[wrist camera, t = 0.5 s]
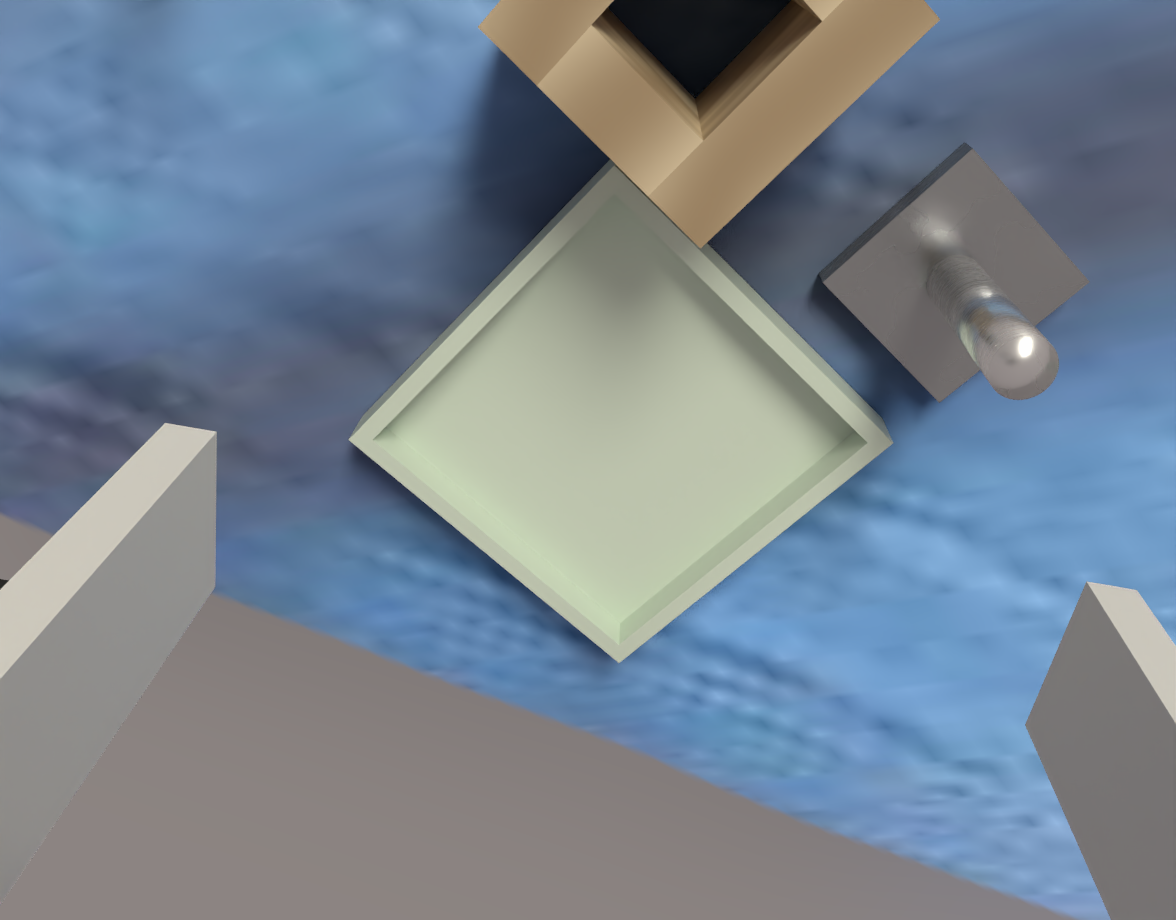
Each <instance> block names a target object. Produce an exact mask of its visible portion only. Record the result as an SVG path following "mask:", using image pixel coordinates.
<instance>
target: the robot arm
mask: <svg viewBox="0 0 1176 920" xmlns="http://www.w3.org/2000/svg"><path fill="white" fill-rule="evenodd" d="M216 451H217V432H214V431H208V430H203V429H197V428H191V427H185V426H179V425H173V424H168V423H165V424H164V425H163V426H162V427H161V428H160V429H159V430H158V431H157V432H156V433H155V434H154V435H153V436H152V437H151V438H150V439H149V440H148V441H147V442H146V443H145V444H144V445H143V446H142V447H141V448H140V449H139V450H138V451H137V452H136V453H135V454H134V455H133V456H132V457H131V458H130V459H129V460H128V461H127V462H126V463H125V464H124V465H123V466H122V467H121V468H120V469H119V470H118V471H117V472H116V473H115V474H114V475H113V476H112V477H111V478H110V479H109V480H108V482H107V483H106V484H105V485H104V486H103V487H102V488H101V489H100V490H99V491H98V492H97V493H96V494H95V495H94V496H93V497H92V498H91V499H90V500H89V501H88V502H87V503H86V504H85V505H84V506H83V507H82V508H81V509H80V510H79V511H78V512H77V513H76V514H75V515H74V516H73V517H72V518H71V519H70V520H69V521H68V522H67V523H66V524H65V525H64V526H63V527H62V528H61V529H60V530H59V531H58V532H57V533H56V534H55V535H54V536H53V537H52V538H51V539H50V540H49V541H48V542H47V543H46V544H45V545H44V546H43V547H42V548H41V549H40V550H39V551H38V552H37V553H36V554H35V555H34V556H33V557H32V558H31V559H30V560H29V561H28V562H27V563H26V564H25V565H24V566H23V567H22V569H20V570H19V571H18V572H17V573H16V574H15V575H14V576H13V577H12V578H11V579H10V580H9V581H8V580H1V579H0V904H1V903H2V902H3V900H4V899H5V897H6V896H7V894H8V893H9V891H10V890H11V888H12V887H13V885H14V884H15V882H16V881H17V879H18V878H19V876H20V875H21V873H22V872H23V870H24V869H25V867H26V866H27V865H28V863H29V862H30V860H31V859H32V857H33V856H34V854H35V853H36V851H37V850H38V848H39V847H40V845H41V844H42V842H43V841H44V839H45V838H46V836H47V835H48V834H49V832H50V831H51V829H52V828H53V826H54V825H55V823H56V822H57V820H58V819H59V817H60V816H61V814H62V813H63V811H64V810H65V808H66V807H67V805H68V804H69V802H70V801H71V799H72V798H73V796H74V795H75V793H76V792H77V791H78V789H79V788H80V786H81V785H82V783H83V782H84V780H85V779H86V777H87V776H88V774H89V773H90V771H91V770H92V768H93V767H94V765H95V764H96V762H97V761H98V760H99V758H100V757H101V755H102V754H103V752H104V751H105V749H106V748H107V746H108V745H109V743H110V742H111V740H112V739H113V737H114V736H115V734H116V733H117V731H118V730H119V728H120V727H121V725H122V724H123V723H124V721H125V720H126V718H127V717H128V715H129V714H130V712H131V711H132V709H133V708H134V706H135V705H136V703H137V702H138V700H139V699H140V697H141V696H142V694H143V693H144V691H145V690H146V688H147V687H148V686H149V684H150V683H151V681H152V680H153V678H154V677H155V675H156V674H157V672H158V671H159V669H160V668H161V666H162V665H163V663H164V662H165V660H166V659H167V657H168V656H169V654H170V653H171V651H172V650H173V649H174V647H175V645H176V644H177V643H178V641H179V640H180V638H181V637H182V635H183V634H184V632H185V631H186V629H187V628H188V626H189V625H190V623H191V622H192V620H193V619H194V617H195V616H196V615H197V613H198V612H199V610H200V608H201V607H202V606H203V604H204V603H205V601H206V600H207V598H208V597H209V595H210V594H211V592H212V591H213V589H214V588H215V549H216ZM1025 726H1026V728H1027V730H1028V732H1029V735H1030V737H1031V739H1032V741H1033V744H1034V746H1035V748H1036V751H1037V753H1038V755H1039V757H1040V760H1041V762H1042V764H1043V766H1044V769H1045V771H1046V773H1047V775H1048V778H1049V780H1050V782H1051V785H1052V787H1053V789H1054V791H1055V794H1056V796H1057V798H1058V800H1059V803H1060V805H1061V807H1062V809H1063V812H1064V814H1065V816H1066V819H1067V821H1068V823H1069V825H1070V828H1071V830H1072V832H1073V834H1074V837H1075V839H1076V841H1077V843H1078V846H1079V848H1080V850H1081V853H1082V855H1083V857H1084V859H1085V862H1086V864H1087V866H1088V868H1089V871H1090V873H1091V875H1092V877H1093V880H1094V882H1095V884H1096V887H1097V889H1098V891H1099V893H1100V896H1101V898H1102V900H1103V902H1104V905H1105V907H1106V909H1107V911H1108V914H1109V916H1110V918H1111V920H1176V646H1175V644H1174V643H1173V642H1172V640H1171V639H1170V637H1169V636H1168V634H1167V633H1166V632H1165V630H1164V629H1163V627H1162V626H1161V624H1160V623H1159V621H1158V620H1157V619H1156V617H1155V616H1154V614H1153V613H1152V611H1151V610H1150V608H1149V607H1148V606H1147V604H1146V603H1145V601H1144V600H1143V598H1142V597H1141V596H1140V594H1139V593H1138V591H1137V590H1133V589H1127V588H1121V587H1115V586H1109V585H1103V584H1098V583H1092V582H1086V584H1085V586H1084V589H1083V591H1082V593H1081V596H1080V598H1079V600H1078V603H1077V605H1076V607H1075V610H1074V612H1073V614H1072V617H1071V619H1070V621H1069V624H1068V626H1067V628H1066V631H1065V633H1064V636H1063V638H1062V640H1061V643H1060V645H1059V647H1058V650H1057V652H1056V654H1055V657H1054V659H1053V661H1052V664H1051V666H1050V668H1049V671H1048V673H1047V675H1046V678H1045V680H1044V682H1043V685H1042V687H1041V689H1040V692H1039V694H1038V696H1037V699H1036V701H1035V703H1034V706H1033V708H1032V710H1031V713H1030V715H1029V717H1028V720H1027V722H1026V724H1025Z"/></svg>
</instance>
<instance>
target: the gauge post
mask: <svg viewBox="0 0 1176 920" xmlns="http://www.w3.org/2000/svg"><path fill="white" fill-rule="evenodd" d="M819 275H820V278H821V280H822V282H823V283H824V284H825V285H826V287H827V288H828V289H829V290H830V291H831V292H832V293H833V294H834V295H835V296H836V297H837V298H838V299H839V300H840V301H841V302H842V303H843V304H844V305H845V306H846V307H847V308H848V309H849V310H850V311H851V312H852V313H853V314H854V315H855V316H856V317H857V318H858V319H859V320H860V322H861V323H862V324H863V325H864V326H865V327H866V328H867V329H868V330H869V331H870V332H871V333H872V334H873V335H874V336H875V337H876V338H877V339H878V340H879V341H880V342H881V343H882V344H883V345H884V346H885V347H886V348H887V349H888V350H889V351H890V352H891V353H892V354H893V355H894V356H895V358H896V359H897V360H898V361H899V362H900V363H901V364H902V365H903V366H904V367H905V368H906V369H907V370H908V371H909V372H910V373H911V374H912V375H913V376H914V377H915V378H916V379H917V380H918V381H919V382H920V383H921V384H922V385H923V386H924V387H925V388H926V389H927V390H928V391H929V393H930V394H931V395H932V396H933V397H934V398H935V399H936V400H937V401H938V402H939V403H940V402H941V401H942V400H943V399H945V398H946V397H947V396H948V395H950V394H951V393H952V392H953V391H955V390H956V389H957V388H958V387H959V386H961V385H962V384H963V383H964V382H966V381H967V380H968V379H969V378H971V377H972V376H973V375H974V374H976V373H977V372H978V371H979V370H981V371H982V373H983V374H984V376H985V377H986V379H987V380H988V381H989V383H990V384H991V386H992V387H993V388H994V390H995V391H996V392H997V393H999V394H1000V395H1001V396H1003V397H1006V398H1009V399H1013V400H1023V399H1028V398H1032V397H1034V396H1037V395H1038V394H1040V393H1042V392H1043V391H1045V390H1046V389H1047V388H1048V387H1049V386H1050V385H1051V384H1052V382H1053V381H1054V379H1055V377H1056V375H1057V372H1058V368H1059V359H1058V355H1057V352H1056V350H1055V349H1054V347H1053V346H1052V345H1051V344H1050V343H1049V342H1048V340H1047V339H1046V338H1045V337H1044V336H1043V335H1042V334H1041V333H1040V332H1039V330H1038V329H1037V328H1036V327H1035V325H1037V324H1038V323H1039V322H1040V321H1042V320H1043V319H1044V318H1045V317H1047V316H1048V315H1049V314H1050V313H1052V312H1053V311H1054V310H1055V309H1057V308H1058V307H1059V306H1060V305H1062V304H1063V303H1064V302H1065V301H1066V300H1068V299H1069V298H1070V297H1071V296H1073V295H1074V294H1075V293H1076V292H1078V291H1079V290H1080V289H1081V288H1083V287H1084V286H1085V285H1086V284H1088V283H1089V281H1088V280H1087V278H1086V277H1085V276H1084V275H1083V274H1082V273H1081V272H1080V270H1079V269H1078V268H1077V267H1076V266H1075V265H1074V264H1073V262H1072V261H1071V260H1070V259H1069V258H1068V257H1067V256H1066V254H1065V253H1064V252H1063V251H1062V250H1061V249H1060V248H1059V246H1058V245H1057V244H1056V243H1055V242H1054V241H1053V240H1052V238H1051V237H1050V236H1049V235H1048V234H1047V233H1046V232H1045V230H1044V229H1043V228H1042V227H1041V226H1040V225H1039V224H1038V222H1037V221H1036V220H1035V219H1034V218H1033V217H1032V216H1031V214H1030V213H1029V212H1028V211H1027V210H1026V209H1025V208H1024V206H1023V205H1022V204H1021V203H1020V202H1019V201H1018V200H1017V198H1016V197H1015V196H1014V195H1013V194H1012V193H1011V192H1010V190H1009V189H1008V188H1007V187H1006V186H1005V185H1004V184H1003V182H1002V181H1001V180H1000V179H999V178H998V177H997V176H996V174H995V173H994V172H993V171H992V170H991V169H990V168H989V166H988V165H987V164H986V163H985V162H984V161H983V160H982V158H981V157H980V156H979V155H978V154H977V153H976V152H975V150H974V149H973V148H971V147H970V146H969V145H968V144H966V143H963V144H962V145H961V146H960V147H959V148H958V149H957V150H956V151H955V152H953V153H952V154H951V155H950V156H949V157H948V158H947V159H946V160H945V161H943V162H942V163H941V164H940V165H939V166H938V167H937V168H936V169H935V170H933V171H932V172H931V173H930V174H929V175H928V176H927V177H926V178H924V179H923V180H922V181H921V182H920V183H919V184H918V185H917V186H916V187H914V188H913V189H912V190H911V191H910V192H909V193H908V194H907V195H906V196H904V197H903V198H902V199H901V200H900V201H899V202H898V203H897V204H896V205H894V206H893V207H892V208H891V209H890V210H889V211H888V212H887V213H886V214H884V215H883V216H882V217H881V218H880V219H879V220H878V221H877V222H876V223H874V224H873V225H872V226H871V227H870V228H869V229H868V230H867V231H866V232H864V233H863V234H862V235H861V236H860V237H859V238H858V239H857V240H855V241H854V242H853V243H852V244H851V245H850V246H849V247H848V248H847V249H845V250H844V251H843V252H842V253H841V254H840V255H839V256H838V257H837V258H835V259H834V260H833V261H832V262H831V263H830V264H829V265H828V266H827V267H825V268H824V269H823V270H822V271H821V272H820V273H819Z"/></svg>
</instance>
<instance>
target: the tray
mask: <svg viewBox="0 0 1176 920" xmlns="http://www.w3.org/2000/svg"><path fill="white" fill-rule="evenodd" d="M349 441H351V442H352V443H353V444H354V445H355V446H357V447H358V448H359V449H360V450H361V451H363V452H364V453H365V454H366V455H367V456H369V457H370V458H371V459H372V460H374V461H375V462H376V463H377V464H378V465H380V466H381V467H382V468H383V469H384V470H386V471H387V472H388V473H389V474H390V475H392V476H393V477H394V478H395V479H397V480H398V481H399V482H400V483H401V484H403V485H404V486H405V487H406V488H407V489H409V490H410V491H411V492H412V493H414V494H415V495H416V496H417V497H418V498H420V499H421V500H422V501H423V502H424V503H426V504H427V505H428V506H429V507H430V508H432V509H433V510H434V511H435V512H437V513H438V514H439V515H440V516H441V517H443V518H444V519H445V520H446V521H447V522H449V523H450V524H451V525H452V526H453V527H455V528H456V529H457V530H458V531H460V532H461V533H462V534H463V535H464V536H466V537H467V538H468V539H469V540H470V541H472V542H473V543H474V544H475V545H477V546H478V547H479V548H480V549H481V550H483V551H484V552H485V553H486V554H487V555H489V556H490V557H491V558H492V559H493V560H495V561H496V562H497V563H498V564H500V565H501V566H502V567H503V568H504V569H506V570H507V571H508V572H509V573H510V574H512V575H513V576H514V577H515V578H516V579H518V580H519V581H520V582H521V583H523V584H524V585H525V586H526V587H527V588H529V589H530V590H531V591H532V592H533V593H535V594H536V595H537V596H538V597H540V598H541V599H542V600H543V601H544V602H546V603H547V604H548V605H549V606H550V607H552V608H553V609H554V610H555V611H556V612H558V613H559V614H560V615H561V616H563V617H564V618H565V619H566V620H567V621H569V622H570V623H571V624H572V625H573V626H575V627H576V628H577V629H578V630H579V631H581V632H582V633H583V634H584V635H586V636H587V637H588V638H589V639H590V640H592V641H593V642H594V643H595V644H596V645H598V646H599V647H600V648H601V649H603V650H604V651H605V652H606V653H607V654H609V655H610V656H611V657H612V658H613V659H615V660H616V661H617V662H618V663H620V662H621V661H622V660H624V659H625V658H626V657H627V656H629V655H630V654H631V653H632V652H634V651H635V650H636V649H637V648H639V647H640V646H641V645H642V644H644V643H645V642H646V641H647V640H649V639H650V638H651V637H652V636H654V635H655V634H656V633H657V632H659V631H660V630H661V629H662V628H664V627H665V626H666V625H667V624H669V623H670V622H671V621H672V620H674V619H675V618H676V617H677V616H678V615H680V614H681V613H682V612H683V611H685V610H686V609H687V608H688V607H690V606H691V605H692V604H693V603H695V602H696V601H697V600H698V599H700V598H701V597H702V596H703V595H705V594H706V593H707V592H708V591H710V590H711V589H712V588H713V587H715V586H716V585H717V584H718V583H720V582H721V581H722V580H723V579H725V578H726V577H727V576H728V575H730V574H731V573H732V572H733V571H735V570H736V569H737V568H738V567H740V566H741V565H742V564H743V563H745V562H746V561H747V560H748V559H750V558H751V557H752V556H753V555H755V554H756V553H757V552H758V551H760V550H761V549H762V548H763V547H764V546H766V545H767V544H768V543H769V542H771V541H772V540H773V539H774V538H776V537H777V536H778V535H779V534H781V533H782V532H783V531H784V530H786V529H787V528H788V527H789V526H791V525H792V524H793V523H794V522H796V521H797V520H798V519H799V518H801V517H802V516H803V515H804V514H806V513H807V512H808V511H809V510H811V509H812V508H813V507H814V506H816V505H817V504H818V503H819V502H821V501H822V500H823V499H824V498H826V497H827V496H828V495H829V494H831V493H832V492H833V491H834V490H836V489H837V488H838V487H839V486H841V485H842V484H843V483H844V482H846V481H847V480H848V479H849V478H851V477H852V476H853V475H854V474H855V473H857V472H858V471H859V470H860V469H862V468H863V467H864V466H865V465H867V464H868V463H869V462H870V461H872V460H873V459H874V458H875V457H877V456H878V455H879V454H880V453H882V452H883V451H884V450H885V449H887V448H888V447H889V446H890V445H892V444H893V441H892V439H891V437H890V434H889V432H888V430H887V428H886V425H885V423H884V421H883V419H882V418H881V417H880V416H879V415H878V414H877V413H876V412H875V411H874V410H873V409H872V408H871V407H870V406H869V405H868V404H867V403H866V402H865V401H864V400H863V399H862V398H861V397H860V396H859V395H858V394H857V393H856V392H855V391H854V390H853V389H852V388H851V387H850V386H849V385H848V384H847V383H846V382H845V381H844V380H843V379H842V378H841V377H840V376H839V375H838V374H837V373H836V372H835V371H834V370H833V369H832V368H831V367H830V366H829V365H828V364H827V363H826V362H825V361H824V360H823V359H822V358H821V357H820V356H819V355H818V354H817V353H816V352H815V351H814V350H813V349H812V348H811V347H810V346H809V345H808V344H807V343H806V342H805V341H804V340H803V339H802V338H801V337H800V336H799V335H798V334H797V333H796V332H795V331H794V330H793V329H792V328H791V327H790V326H789V325H788V324H787V323H786V322H785V321H784V320H783V319H782V318H781V317H780V316H779V315H778V314H777V313H776V312H775V311H774V310H773V309H772V308H771V307H770V306H769V305H768V304H767V303H766V302H765V301H764V300H763V299H762V298H761V297H760V296H759V295H758V294H757V293H756V292H755V291H754V290H753V289H752V288H751V287H750V286H749V285H748V284H747V283H746V282H745V281H744V280H743V279H742V278H741V277H740V276H739V275H738V274H737V273H736V272H735V271H734V270H733V269H732V268H731V267H730V266H729V265H728V264H727V263H726V262H725V261H724V260H723V259H722V258H721V257H720V256H719V255H718V254H717V253H716V252H715V251H714V250H713V249H712V248H711V247H710V246H709V245H708V244H707V243H706V244H705V245H704V246H703V247H702V248H701V249H700V248H699V247H698V246H697V245H696V244H695V243H694V242H693V241H692V240H691V239H690V238H689V237H688V236H687V235H686V234H685V233H684V232H683V231H682V230H681V229H680V228H679V227H678V226H677V225H676V224H675V223H674V222H673V221H672V220H671V219H670V218H669V217H668V216H667V215H666V214H665V213H664V212H663V211H662V210H661V209H660V208H659V207H658V206H657V205H656V204H655V203H654V202H653V201H652V200H651V199H650V198H649V197H648V196H647V195H646V194H645V193H644V192H643V191H642V190H641V189H640V188H639V187H638V186H637V185H636V184H635V183H634V182H633V181H632V180H631V179H630V178H629V177H628V176H627V175H626V174H625V173H624V172H623V171H622V170H621V169H620V168H619V167H618V166H617V165H616V164H615V163H614V162H613V161H612V160H611V159H610V160H609V161H608V162H607V163H606V164H605V165H604V166H603V167H602V168H601V169H600V170H599V171H598V172H597V173H596V174H595V175H594V176H593V177H592V178H591V180H590V181H589V182H588V183H587V184H586V185H585V186H584V187H583V188H582V189H581V190H580V191H579V192H578V193H577V194H576V195H575V196H574V197H573V198H572V199H571V200H570V201H569V202H568V203H567V204H566V205H565V206H564V208H563V209H562V210H561V211H560V212H559V213H558V214H557V215H556V216H555V217H554V218H553V219H552V220H551V221H550V222H549V223H548V224H547V225H546V226H545V227H544V228H543V229H542V230H541V231H540V232H539V233H538V234H537V236H536V237H535V238H534V239H533V240H532V241H531V242H530V243H529V244H528V245H527V246H526V247H525V248H524V249H523V250H522V251H521V252H520V253H519V254H518V255H517V256H516V257H515V258H514V259H513V260H512V261H511V262H510V264H509V265H508V266H507V267H506V268H505V269H504V270H503V271H502V272H501V273H500V274H499V275H498V276H497V277H496V278H495V279H494V280H493V281H492V282H491V283H490V284H489V285H488V286H487V287H486V288H485V289H484V290H483V292H482V293H481V294H480V295H479V296H478V297H477V298H476V299H475V300H474V301H473V302H472V303H471V304H470V305H469V306H468V307H467V308H466V309H465V310H464V311H463V312H462V313H461V314H460V315H459V316H458V317H457V318H456V320H455V321H454V322H453V323H452V324H451V325H450V326H449V327H448V328H447V329H446V330H445V331H444V332H443V333H442V334H441V335H440V336H439V337H438V338H437V339H436V340H435V341H434V342H433V343H432V344H431V345H430V347H429V348H428V349H427V350H426V351H425V352H424V353H423V354H422V355H421V356H420V357H419V358H418V359H417V360H416V361H415V362H414V363H413V364H412V365H411V366H410V367H409V368H408V369H407V370H406V371H405V372H404V373H403V375H402V376H401V377H400V378H399V379H398V380H397V381H396V382H395V383H394V384H393V385H392V386H391V387H390V388H389V389H388V390H387V391H386V392H385V393H384V394H383V395H382V396H381V397H380V398H379V399H378V400H377V401H376V403H375V404H374V405H373V406H372V407H371V408H370V409H369V410H368V411H367V412H366V413H365V414H364V415H363V416H362V418H361V419H360V421H359V423H358V424H357V426H356V428H355V430H354V431H353V433H352V435H351V437H350V438H349Z"/></svg>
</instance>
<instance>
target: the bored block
mask: <svg viewBox="0 0 1176 920" xmlns="http://www.w3.org/2000/svg"><path fill="white" fill-rule="evenodd" d="M613 1H614V0H501V1H500V2H499V3H498V4H497V5H496V6H495V8H494V9H493V10H492V11H491V12H490V13H489V15H488V16H487V17H486V18H485V19H484V20H483V22H482V23H481V24H480V25H479V26H478V28H479V29H480V30H481V31H482V32H483V33H484V34H485V35H486V36H487V37H488V38H489V39H490V40H491V41H492V42H493V43H494V44H495V45H496V46H497V47H498V48H499V49H500V50H501V51H502V52H503V53H505V54H506V55H507V56H508V57H509V58H510V59H511V60H512V61H513V62H514V63H515V64H516V65H517V66H518V67H519V68H520V69H521V70H522V71H523V72H524V73H525V74H526V75H527V76H528V77H529V78H530V79H531V80H532V81H533V82H534V83H535V84H536V85H537V86H538V87H539V88H540V89H541V90H542V91H543V92H544V93H545V94H546V95H547V96H548V97H549V98H550V99H551V100H552V101H553V102H554V103H555V104H556V105H557V106H558V107H559V108H560V109H561V110H562V111H563V112H564V113H565V114H566V115H567V116H568V117H569V118H570V119H571V120H572V121H573V122H574V123H575V124H576V125H577V126H578V127H579V128H580V129H581V130H582V131H583V132H584V133H585V134H586V135H587V136H588V137H589V138H590V139H591V140H592V141H593V142H594V143H595V144H596V145H597V146H598V147H599V148H600V149H601V150H602V151H603V152H604V153H605V154H606V155H607V156H608V157H609V158H610V159H611V160H612V161H613V162H614V163H615V164H616V165H617V166H618V167H619V168H620V169H621V170H622V171H623V172H624V173H625V174H626V175H627V176H628V177H629V178H630V179H631V180H632V181H633V182H634V183H635V184H636V185H637V186H638V187H639V188H640V189H641V190H642V191H643V192H644V193H645V194H646V195H647V196H648V197H649V198H650V199H651V200H652V201H653V202H654V203H655V204H656V205H657V206H658V207H659V208H660V209H661V210H662V211H663V212H664V213H665V214H666V215H667V216H668V217H669V218H670V219H671V220H672V221H673V222H674V223H675V224H676V225H677V226H678V227H679V228H680V229H681V230H682V231H683V232H684V233H685V234H686V235H687V236H688V237H689V238H690V239H691V240H692V241H693V242H694V243H695V244H696V245H697V246H698V247H699V248H700V249H701V248H702V247H703V246H704V245H705V244H706V243H707V242H708V241H709V240H710V239H711V238H712V237H713V236H714V235H715V234H716V233H717V232H718V231H720V230H721V229H722V228H723V227H724V226H725V225H726V224H727V223H728V222H729V221H730V220H731V219H732V218H733V217H734V216H735V215H736V214H737V213H738V212H739V211H740V210H741V209H743V208H744V207H745V206H746V205H747V204H748V203H749V202H750V201H751V200H752V199H753V198H754V197H755V196H756V195H757V194H758V193H759V192H760V191H761V190H762V189H763V188H764V187H766V186H767V185H768V184H769V183H770V182H771V181H772V180H773V179H774V178H775V177H776V176H777V175H778V174H779V173H780V172H781V171H782V170H783V169H784V168H785V167H786V166H787V165H789V164H790V163H791V162H792V161H793V160H794V159H795V158H796V157H797V156H798V155H799V154H800V153H801V152H802V151H803V150H804V149H805V148H806V147H807V146H808V145H809V144H810V143H812V142H813V141H814V140H815V139H816V138H817V137H818V136H819V135H820V134H821V133H822V132H823V131H824V130H825V129H826V128H827V127H828V126H829V125H830V124H831V123H832V122H833V121H835V120H836V119H837V118H838V117H839V116H840V115H841V114H842V113H843V112H844V111H845V110H846V109H847V108H848V107H849V106H850V105H851V104H852V103H853V102H854V101H855V100H856V99H858V98H859V97H860V96H861V95H862V94H863V93H864V92H865V91H866V90H867V89H868V88H869V87H870V86H871V85H872V84H873V83H874V82H875V81H876V80H877V79H878V78H879V77H881V76H882V75H883V74H884V73H885V72H886V71H887V70H888V69H889V68H890V67H891V66H892V65H893V64H894V63H895V62H896V61H897V60H898V59H899V58H900V57H901V56H903V55H904V54H905V53H906V52H907V51H908V50H909V49H910V48H911V47H912V46H913V45H914V44H915V43H916V42H917V41H918V40H919V39H920V38H921V37H922V36H923V35H924V34H926V33H927V32H928V31H929V30H930V29H931V28H932V27H933V26H934V25H935V24H936V23H937V22H938V21H939V20H940V19H939V17H938V16H937V15H936V14H935V13H934V12H933V10H932V9H931V8H930V7H929V6H928V5H927V3H926V2H925V1H924V0H791V1H790V2H789V3H788V4H787V5H786V6H785V7H784V8H783V9H782V10H781V11H780V12H779V13H778V14H777V15H776V16H775V17H774V18H773V19H772V20H771V21H770V23H769V24H768V25H767V26H766V27H765V28H764V29H763V30H762V31H761V32H760V33H759V34H758V35H757V36H756V37H755V38H754V39H753V40H752V41H751V42H750V43H749V44H748V45H747V46H746V47H745V48H744V49H743V50H742V51H741V52H740V53H739V54H738V55H737V56H736V57H735V58H734V59H733V60H732V61H731V62H730V64H729V65H728V66H727V67H726V68H725V69H724V70H723V71H722V72H721V73H720V74H719V75H718V76H717V77H716V78H715V79H714V80H713V81H712V82H711V83H710V84H709V85H708V86H707V87H706V88H705V89H704V90H703V91H702V92H701V93H700V94H699V95H698V96H697V97H696V98H694V97H693V96H692V95H691V94H690V93H689V92H688V91H687V90H686V89H685V88H684V87H683V86H682V85H681V84H680V83H679V82H678V81H677V79H676V78H675V77H674V76H673V75H672V74H671V73H670V72H669V71H668V70H667V69H666V68H665V67H664V66H663V65H662V64H661V63H660V62H659V61H658V60H657V59H656V57H655V56H654V55H653V54H652V53H651V52H650V51H649V50H648V49H647V48H646V47H645V46H644V45H643V44H642V43H641V42H640V41H639V40H638V39H637V38H636V37H635V35H634V34H633V33H632V32H631V31H630V30H629V29H628V28H627V27H626V26H625V25H624V24H623V23H622V22H621V21H620V20H619V19H618V18H617V17H616V16H615V15H614V13H613V12H612V11H611V10H610V9H609V8H608V6H609V5H610V4H611V3H612V2H613Z"/></svg>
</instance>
